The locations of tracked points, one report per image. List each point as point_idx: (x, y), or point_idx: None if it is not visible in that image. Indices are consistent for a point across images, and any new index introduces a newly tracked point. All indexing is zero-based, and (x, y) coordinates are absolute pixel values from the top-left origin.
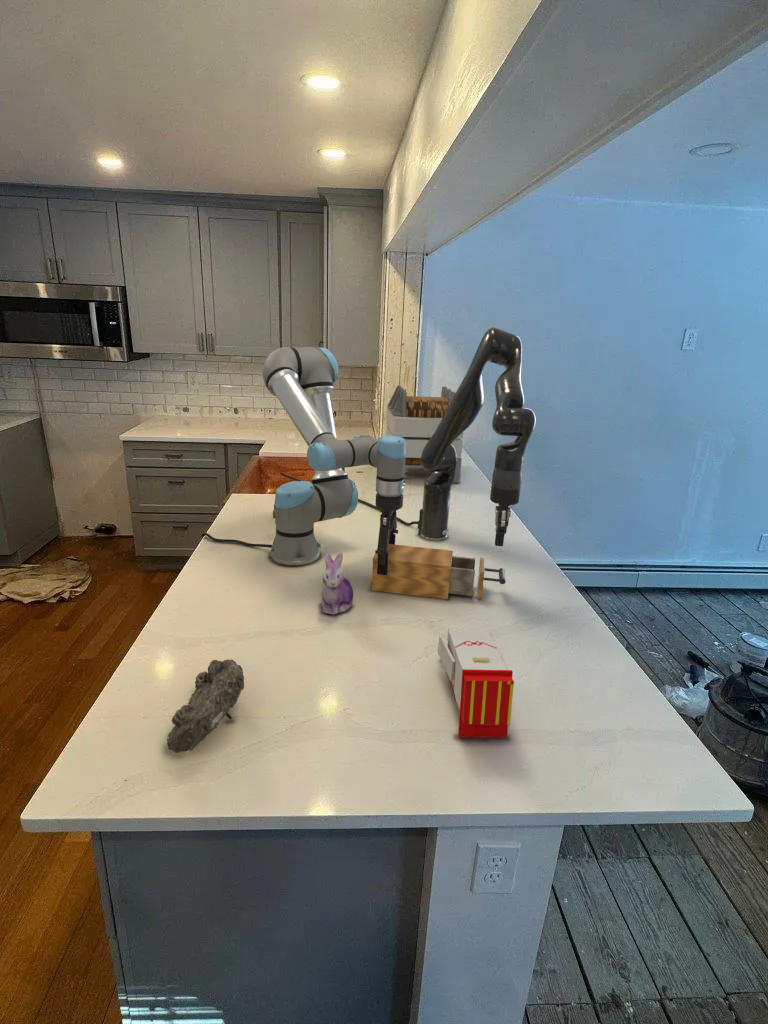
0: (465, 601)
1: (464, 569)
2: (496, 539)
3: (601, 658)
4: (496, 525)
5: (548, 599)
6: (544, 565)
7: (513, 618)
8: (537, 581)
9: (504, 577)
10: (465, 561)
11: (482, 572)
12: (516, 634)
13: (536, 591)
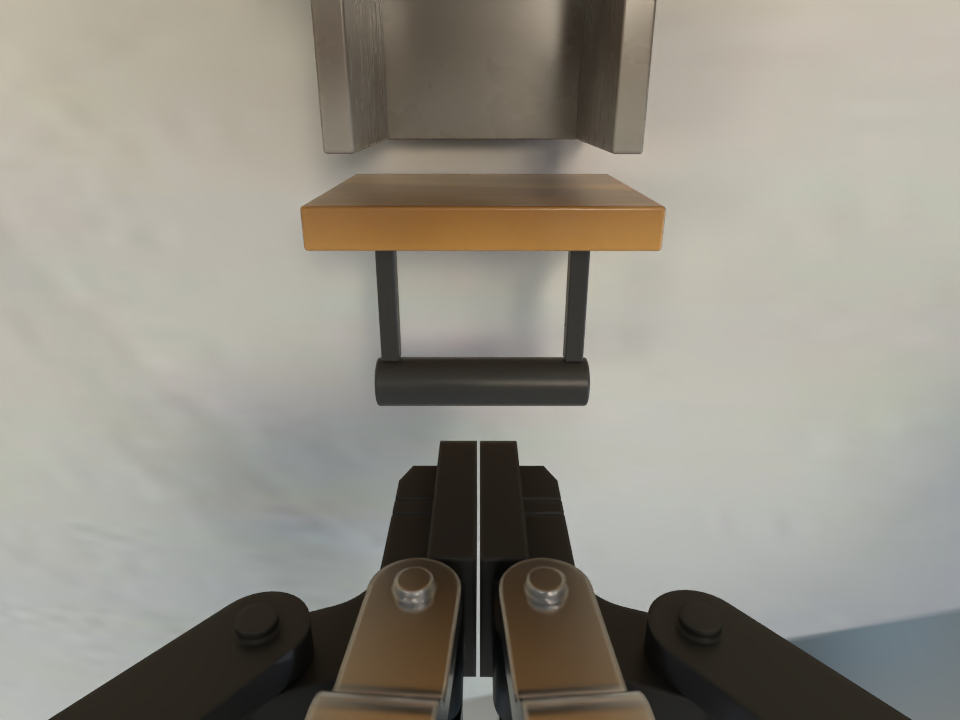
0: None
1: (316, 31)
2: (436, 499)
3: (33, 705)
4: (322, 705)
5: None
6: (956, 591)
7: (226, 392)
8: (728, 540)
9: (418, 403)
10: (613, 40)
11: (304, 231)
12: (55, 399)
13: (595, 526)
